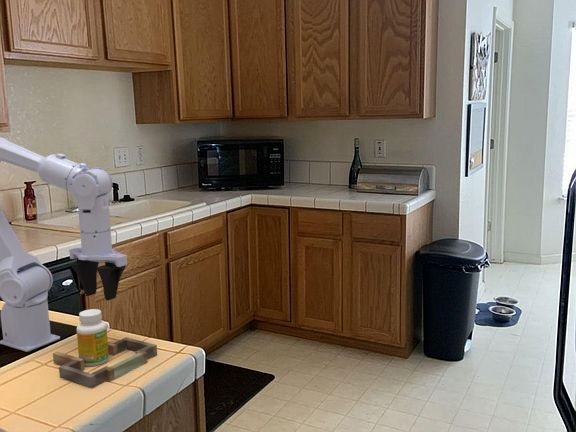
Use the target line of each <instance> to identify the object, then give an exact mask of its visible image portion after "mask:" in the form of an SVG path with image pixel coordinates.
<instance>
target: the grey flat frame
mask: <svg viewBox="0 0 576 432" xmlns="http://www.w3.org/2000/svg"><path fill="white" fill-rule="evenodd" d="M108 351H109V356H116V355H119V354H121V353H122V352H124V351H132V352H134V353H135V354H133V355H131V356H129V357H126V358H125V359H122V360H121V361H119V362H117V363H114V364H113V365H111V366H107V365H106V366H103V367H101V368H99V369H97V370H95V371H93V372H91V373H90V372H87V371H84V370H86V369H85V366H84V359H81V358H79V356H78V357H77V356H74V355H70V354H67V353H64V352H61V351H55V352H52V358H53V361H52V362H53V364H54V365H59V366H58V371H59V372H58V374H59V379H63V380H65V381H68V382H70V383H71V382H72V383H74V384H77V385H81V386H84V387H86V388H89V389H93V388H95V387H97V386H99V385H101V384H102V383H103V384H104V383H105V382H106V381H109V382H111V381H113V380H116V379H118V378H119V377H122V376H123V375H125V374H127V373H129V372H131V371H134V370H135V369H137V368H139V367H141V366H143V365H144V364H146V363H148V360H149V359H152V358H154V357H155V356H157V355H158V346H157V344H153V343H150V342H147V341H142V340H138V339H134V338H130V337H128V336H127V337H123V338H121V339H118V340H117V341H114V342H112V341H111V342H110V341H108Z"/></svg>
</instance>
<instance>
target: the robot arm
mask: <svg viewBox="0 0 576 432" xmlns="http://www.w3.org/2000/svg"><path fill="white" fill-rule="evenodd" d="M66 157H67V155H65V154H63V153H56V154H55V153H53V154H50V155H47V156H43V155H41V154H39V153H37V152H34V151H33V150H32V151H31V150H30V149H28V148H25V147H23V146H20V145H18V144H16V143H14V142H11V141H9V140H7V139H6V137H5V138H4V137H0V163H1V162H4V163H7V164H11V165H13V166H16V167H19V168H22V169H26V170H29V171H32V172H34V173H38V175H39V179H40V180H41V181H43V182H44V183H46V184H48V185H52V186H54V187H56V188H59V189H62V190H64V191H67V192H69V193H71V195H72V196H73V197H74V199H75V200H76V206H77V207H78V208H77V209H78V220H79V234H80V235H79V236H80V244H81V245H80V247H75V248H71V249H69V250H68V251H69V252H68V253H69V259H70V260H75V259H76V260H75V262H74V261H73V262H71V264H70V266H71V268H72V270H73V272H75V274H76V275H77V277H78V279H79V281H80V284H81V285H82V289H83V292H84V295H85V296H86V297H90V296H93V295H96V294H97V290H98V284H97V283H98V282H97V278H98V277H97V276H99V277H100V280H101V283H102V290H103V294H104V295H103V296H104V299H105V301H111V300H114V299H116V298H117V293H118V288H119V283H120V280H121V278H122V275H123V272H125V271H124V270H125V269H126V267H127V265H128V254H123V253H121V252H118V251H116V250H114V249H113V244H112V243H113V242H112V230H111V229H112V228H111V219H110V218H111V216H110V205H109V204H110V202H109V194H110V192H111V191H112V189H113V178H112V177H111V175H110V173H109V172H108V171H106V170H104V169H103V168H102V167H92V168H89V167H88V163H84V162H81V163H79V162H76V161H72V160H70V159H68V158H66ZM100 263H101V264H104V265H99V264H100ZM97 274H98V275H97ZM53 280H54V279H53V275H52V272H51V271H50V269H48V268H47V267H46V266H45V265H43V264H42V262H40V260H39V258H38V256H35V255H34V254H32V253H29V252H26V251H25V248H24V247H23V245H22V244H21V241H19V238H18V236H17V235H16V233H15V232H14V229H13V227H11V224H10V223H9V221H8V219H7V217H6V216H5V214H4V212H3V210H2V209H1V208H0V299H1V300H2V301H3V302H4V303H3V305H2V307H1V309H0V322H1V330H2V338H3V339H1V340H0V345H4V346H5V347H10V348H13V349H16V350H18V351H19V350H20V351H23V352H31V351H33V350H36V349H38V348H40V347H43V346H45V345H48V344H50V343H52V342H56V341H58V340H60V339H61V336H60V335H56V334H54V333H51V324H50V314H49V304H48V303H49V302H48V296H49V290H50V289H51V288H52V286H53V283H54V281H53Z"/></svg>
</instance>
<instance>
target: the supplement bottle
mask: <svg viewBox="0 0 576 432" xmlns="http://www.w3.org/2000/svg"><path fill="white" fill-rule="evenodd" d="M78 315H79V316H78V317H79V318H78V319H79V322H80V323H79V324H78V325H77V326H76V339H77V350H78V351H77V352H78V358H81V359H84V367H95V366H99V365H103V364H104V363H106V362H107V361H108V360H109V358H110V354H109V351H108V342H109V340H108V339H109V338H108V330H107V329H108V327H107V323H106V322H105V321H104V320H102V319H103V314H102V310H100V309H99V308H92V309H85V310H83V311H80V312H79V313H78Z"/></svg>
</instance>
